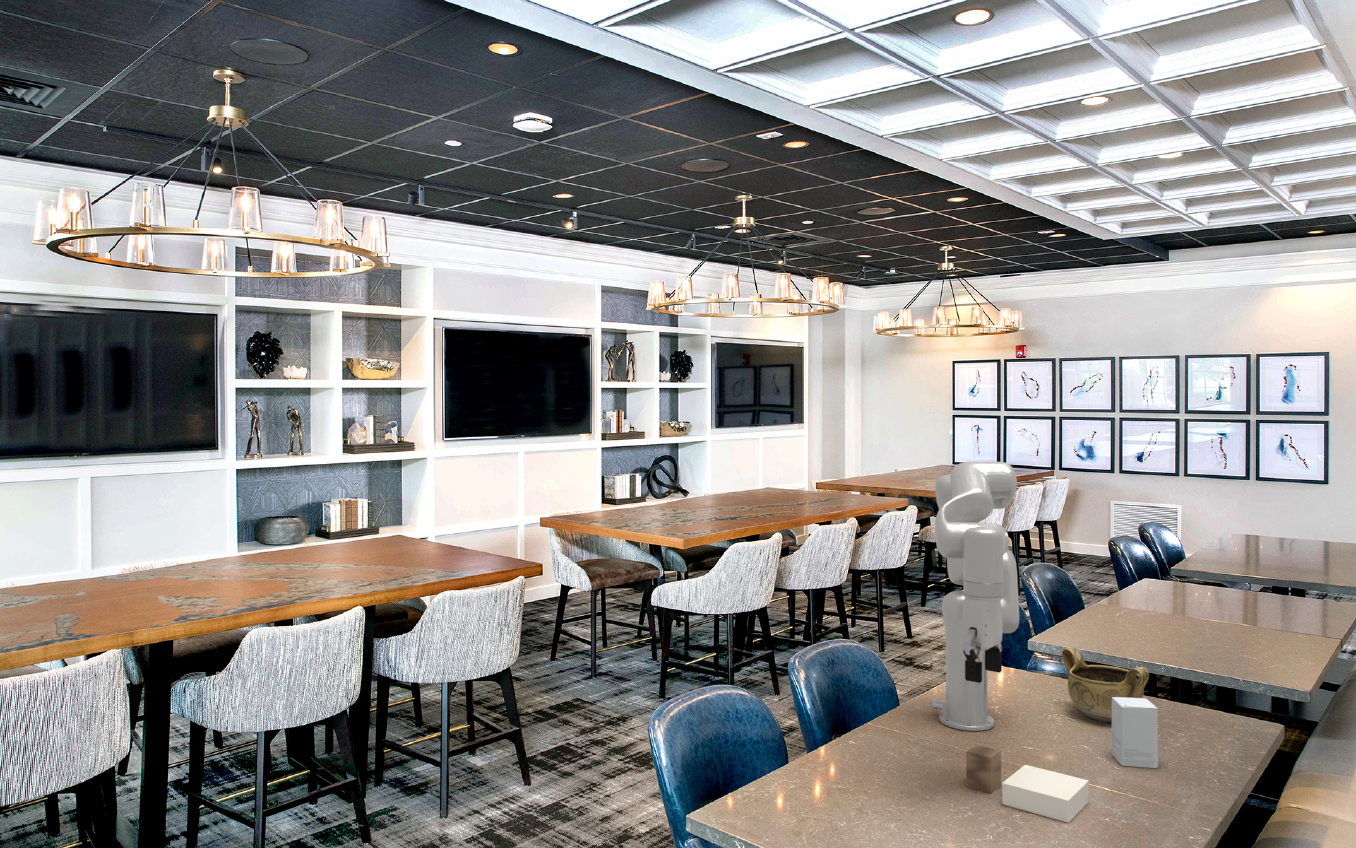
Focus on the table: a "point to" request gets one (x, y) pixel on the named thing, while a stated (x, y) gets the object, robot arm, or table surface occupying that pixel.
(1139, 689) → the ceramic bowl
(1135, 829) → the table surface
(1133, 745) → the supplement box
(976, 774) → the walnut block
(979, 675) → the robot arm
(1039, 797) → the base
